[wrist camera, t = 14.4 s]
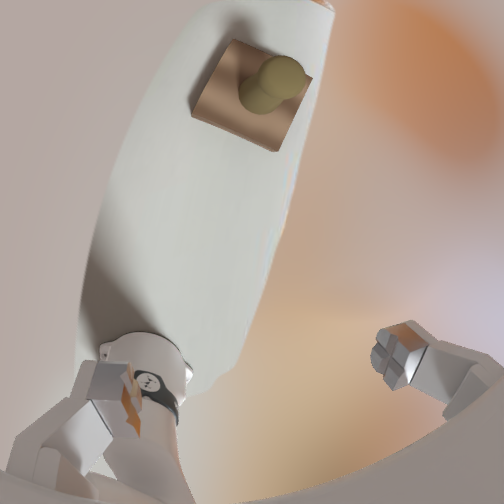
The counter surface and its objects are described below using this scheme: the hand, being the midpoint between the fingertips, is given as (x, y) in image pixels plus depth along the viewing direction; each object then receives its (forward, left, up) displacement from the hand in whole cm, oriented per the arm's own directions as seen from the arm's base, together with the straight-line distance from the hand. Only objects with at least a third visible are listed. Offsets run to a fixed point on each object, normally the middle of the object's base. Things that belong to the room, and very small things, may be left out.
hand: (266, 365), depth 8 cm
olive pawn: (+17, -1, -31) cm, 36 cm away
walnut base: (+17, 0, -34) cm, 38 cm away
